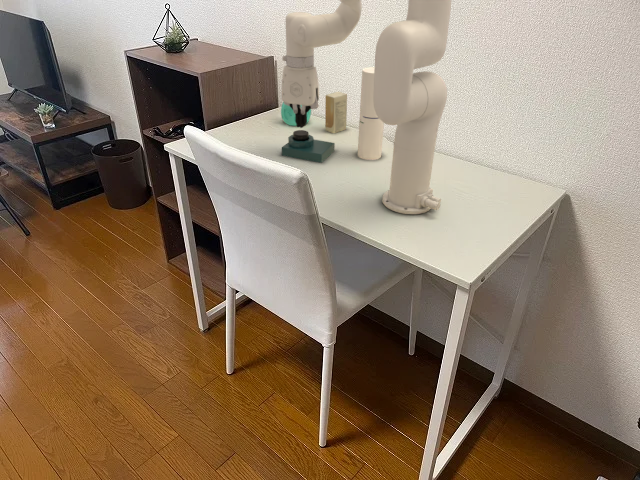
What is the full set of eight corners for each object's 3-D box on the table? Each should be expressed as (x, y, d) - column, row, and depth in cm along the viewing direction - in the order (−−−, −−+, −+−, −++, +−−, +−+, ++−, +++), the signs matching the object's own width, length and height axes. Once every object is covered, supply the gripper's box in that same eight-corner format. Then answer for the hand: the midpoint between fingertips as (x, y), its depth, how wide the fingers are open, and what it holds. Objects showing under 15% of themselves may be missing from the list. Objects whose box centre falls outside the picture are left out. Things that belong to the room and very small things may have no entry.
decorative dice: (291, 117, 177) (290, 95, 173) (311, 120, 174) (311, 98, 170) (281, 124, 171) (280, 101, 167) (301, 127, 168) (301, 104, 164)
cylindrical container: (373, 162, 144) (379, 74, 130) (352, 156, 147) (357, 70, 134) (385, 154, 149) (393, 69, 135) (365, 149, 152) (371, 65, 139)
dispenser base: (334, 151, 151) (334, 137, 148) (321, 163, 143) (321, 148, 140) (296, 144, 155) (296, 130, 152) (281, 155, 147) (281, 141, 145)
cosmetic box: (337, 126, 170) (338, 90, 163) (346, 129, 167) (348, 93, 160) (324, 130, 166) (324, 94, 159) (333, 134, 163) (334, 97, 157)
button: (311, 137, 149) (311, 131, 147) (304, 143, 145) (304, 136, 144) (297, 135, 150) (297, 129, 149) (290, 140, 146) (290, 134, 145)
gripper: (269, 61, 135) (272, 126, 145) (319, 67, 130) (319, 133, 140) (282, 56, 141) (284, 119, 151) (330, 61, 136) (329, 125, 146)
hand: (301, 126), depth 145 cm, fingers closed
